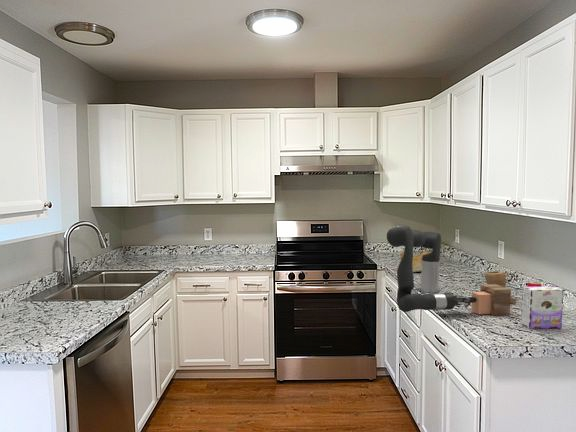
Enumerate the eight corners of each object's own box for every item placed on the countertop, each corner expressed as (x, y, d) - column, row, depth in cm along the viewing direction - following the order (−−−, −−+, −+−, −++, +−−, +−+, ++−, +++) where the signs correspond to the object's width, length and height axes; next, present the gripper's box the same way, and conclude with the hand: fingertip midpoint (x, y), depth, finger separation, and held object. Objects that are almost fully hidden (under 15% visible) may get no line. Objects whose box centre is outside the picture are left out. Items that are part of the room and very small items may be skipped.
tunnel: (479, 309, 187) (480, 284, 186) (494, 308, 189) (495, 283, 188) (494, 316, 177) (495, 289, 177) (509, 315, 179) (511, 289, 178)
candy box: (551, 323, 168) (554, 285, 167) (561, 328, 162) (564, 289, 161) (520, 323, 167) (522, 285, 166) (529, 328, 162) (531, 289, 160)
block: (471, 311, 183) (472, 292, 183) (500, 309, 187) (501, 290, 186) (478, 314, 178) (479, 294, 178) (508, 312, 182) (509, 293, 181)
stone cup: (480, 295, 212) (481, 268, 211) (503, 296, 211) (504, 268, 210) (492, 303, 197) (493, 274, 196) (517, 304, 196) (518, 274, 195)
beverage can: (526, 303, 197) (528, 280, 197) (541, 306, 194) (542, 282, 193) (524, 306, 193) (526, 282, 192) (539, 309, 189) (541, 284, 188)
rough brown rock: (430, 270, 281) (429, 249, 281) (436, 273, 264) (435, 251, 265) (396, 270, 283) (396, 250, 284) (400, 273, 267) (400, 251, 267)
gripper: (450, 297, 170) (485, 295, 174) (433, 289, 183) (466, 287, 187) (449, 314, 171) (484, 311, 174) (432, 305, 184) (465, 303, 187)
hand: (475, 299), depth 181 cm, fingers closed
